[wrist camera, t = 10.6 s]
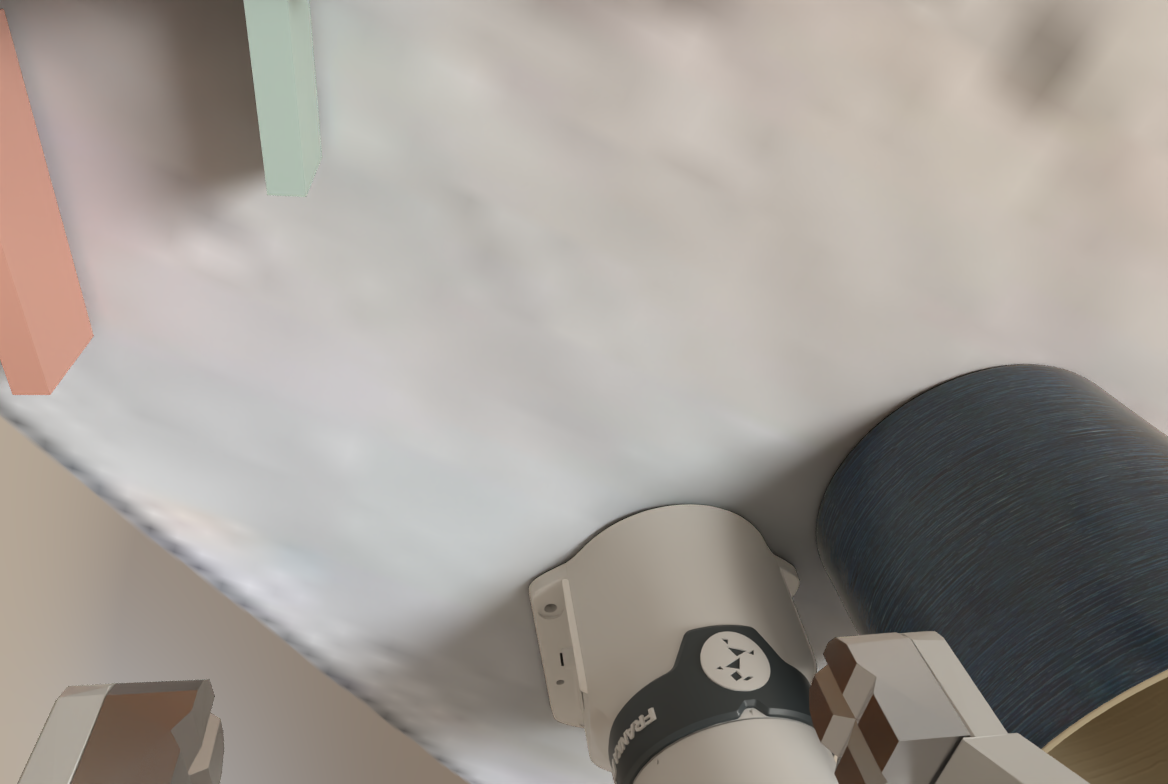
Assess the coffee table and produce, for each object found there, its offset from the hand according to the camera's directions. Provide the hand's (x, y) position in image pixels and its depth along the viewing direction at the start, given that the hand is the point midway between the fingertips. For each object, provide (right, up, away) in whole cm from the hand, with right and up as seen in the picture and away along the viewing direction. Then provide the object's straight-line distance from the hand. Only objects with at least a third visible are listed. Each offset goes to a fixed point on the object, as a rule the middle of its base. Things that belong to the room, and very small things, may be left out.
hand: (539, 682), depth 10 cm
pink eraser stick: (-22, +12, +22) cm, 34 cm away
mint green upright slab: (-11, +20, +19) cm, 30 cm away
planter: (+27, -3, +43) cm, 51 cm away
